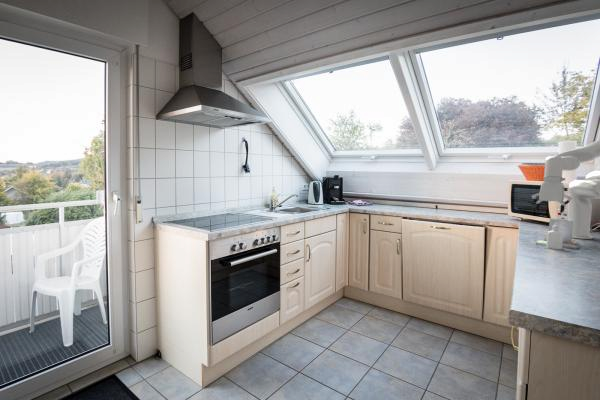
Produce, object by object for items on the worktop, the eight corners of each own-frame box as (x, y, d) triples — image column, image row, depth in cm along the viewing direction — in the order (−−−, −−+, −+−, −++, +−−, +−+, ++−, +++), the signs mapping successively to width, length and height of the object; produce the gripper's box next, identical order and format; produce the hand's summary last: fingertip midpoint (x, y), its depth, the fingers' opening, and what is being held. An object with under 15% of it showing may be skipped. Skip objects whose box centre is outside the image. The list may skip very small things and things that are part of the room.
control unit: (546, 239, 172) (547, 217, 171) (575, 243, 164) (577, 220, 163) (543, 241, 167) (545, 219, 166) (574, 245, 159) (576, 222, 158)
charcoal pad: (558, 244, 160) (559, 242, 160) (577, 247, 155) (577, 245, 155) (556, 246, 155) (557, 244, 155) (575, 249, 150) (576, 247, 150)
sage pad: (539, 242, 166) (539, 240, 166) (556, 244, 161) (556, 242, 161) (536, 244, 161) (536, 242, 161) (554, 246, 156) (554, 244, 156)
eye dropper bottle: (549, 246, 156) (551, 221, 155) (563, 249, 151) (565, 223, 150) (544, 247, 154) (546, 222, 153) (558, 250, 149) (560, 224, 148)
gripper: (574, 180, 169) (571, 213, 171) (534, 179, 182) (531, 209, 183) (572, 180, 164) (569, 214, 166) (531, 179, 176) (529, 210, 178)
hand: (549, 211), depth 174 cm, fingers open, 9 cm apart
